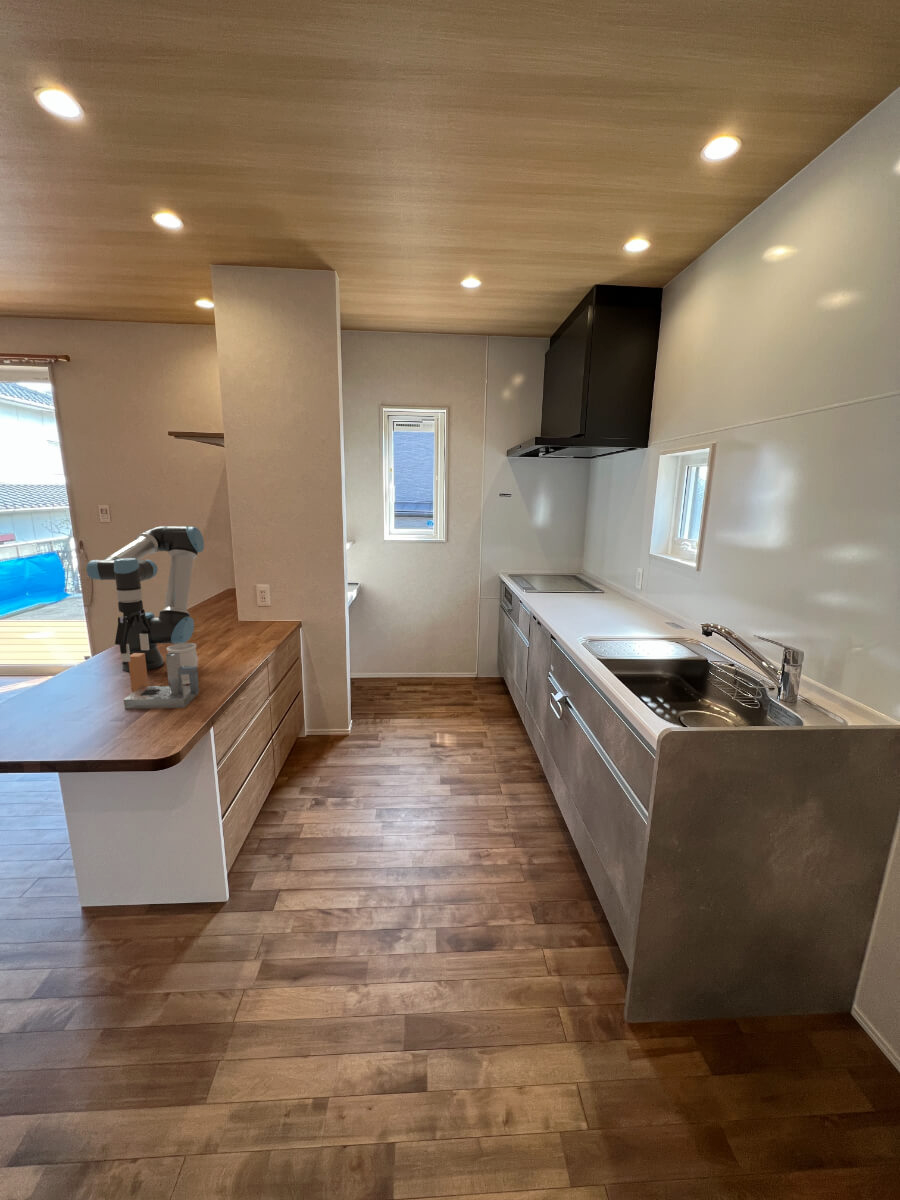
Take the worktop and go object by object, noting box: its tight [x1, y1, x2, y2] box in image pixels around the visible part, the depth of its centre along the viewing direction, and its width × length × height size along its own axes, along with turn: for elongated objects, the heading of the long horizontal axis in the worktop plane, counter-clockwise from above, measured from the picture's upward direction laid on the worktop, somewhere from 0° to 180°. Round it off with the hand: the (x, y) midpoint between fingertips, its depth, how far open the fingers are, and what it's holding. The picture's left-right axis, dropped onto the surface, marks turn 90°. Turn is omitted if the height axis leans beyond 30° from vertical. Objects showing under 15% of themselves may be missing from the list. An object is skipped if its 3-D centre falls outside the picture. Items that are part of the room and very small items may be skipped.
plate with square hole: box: [123, 653, 200, 710], centre depth 173 cm, size 12×22×18 cm, turn 97°
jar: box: [166, 642, 199, 686], centre depth 192 cm, size 11×10×15 cm
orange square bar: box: [129, 653, 149, 694], centre depth 181 cm, size 4×4×15 cm
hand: (136, 655), depth 179 cm, fingers open, 13 cm apart
